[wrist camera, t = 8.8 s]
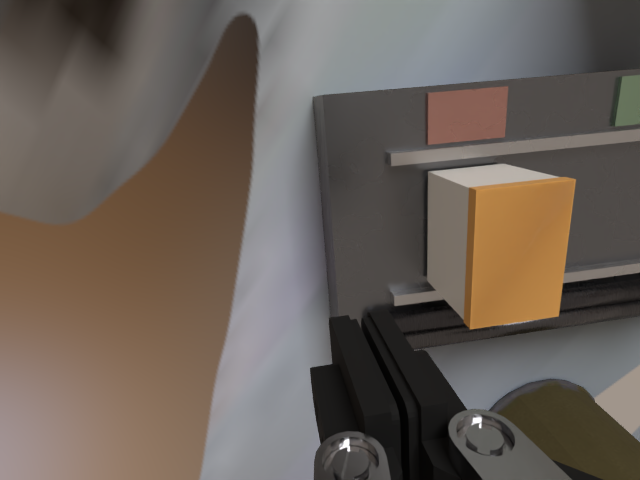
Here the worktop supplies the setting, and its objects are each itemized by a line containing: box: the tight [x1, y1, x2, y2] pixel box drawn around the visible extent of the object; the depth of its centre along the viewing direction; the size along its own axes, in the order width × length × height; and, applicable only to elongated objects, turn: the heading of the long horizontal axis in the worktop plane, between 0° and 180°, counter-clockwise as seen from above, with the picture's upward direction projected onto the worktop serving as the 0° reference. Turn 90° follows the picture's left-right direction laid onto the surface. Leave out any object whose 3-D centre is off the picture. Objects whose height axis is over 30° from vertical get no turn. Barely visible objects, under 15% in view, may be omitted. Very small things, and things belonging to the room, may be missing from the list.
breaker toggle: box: [427, 164, 576, 329], centre depth 19 cm, size 4×6×5 cm
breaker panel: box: [313, 69, 640, 350], centre depth 23 cm, size 24×14×5 cm, turn 94°
